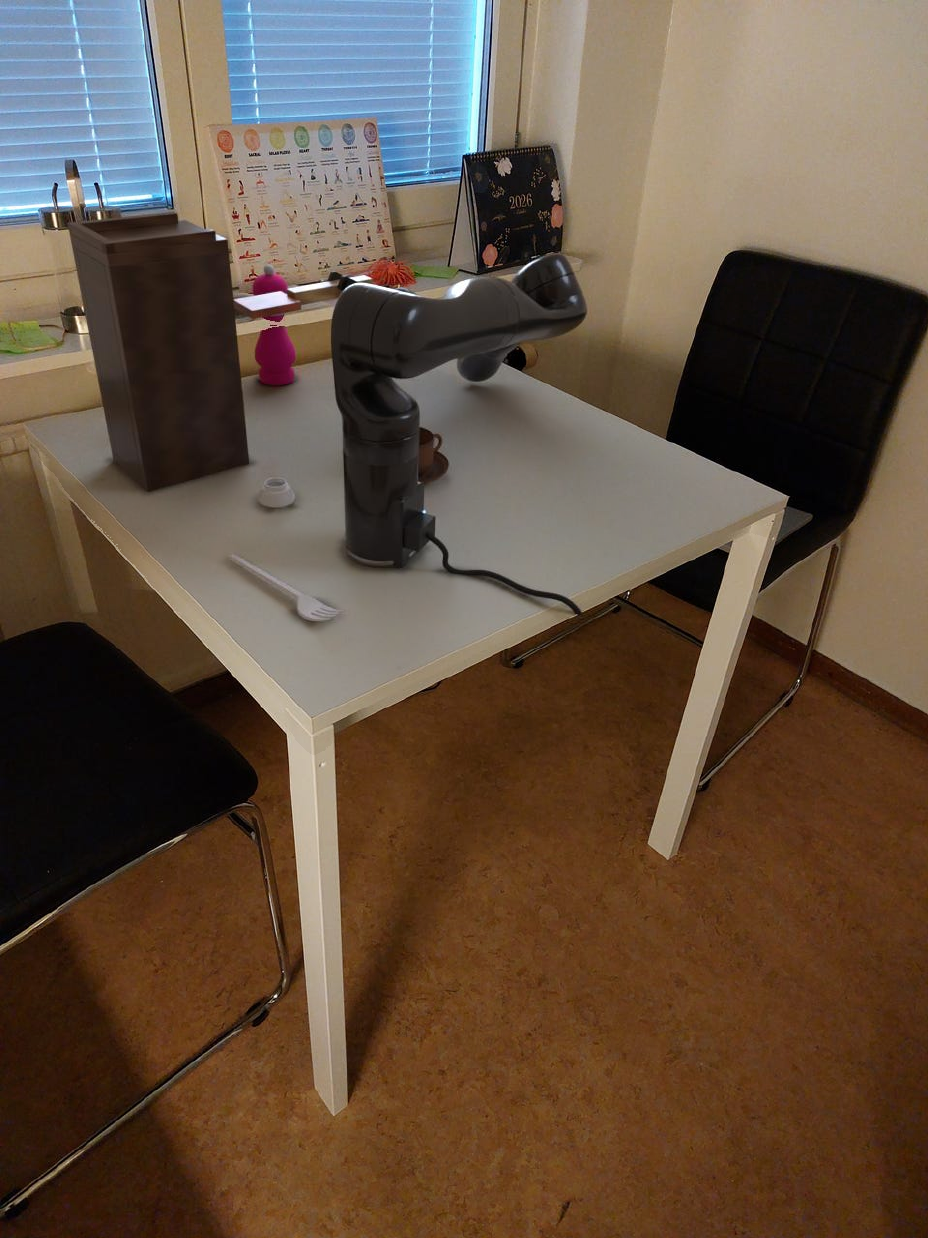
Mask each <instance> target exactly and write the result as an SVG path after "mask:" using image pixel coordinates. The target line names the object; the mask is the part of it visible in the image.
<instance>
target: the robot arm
mask: <svg viewBox="0 0 928 1238" xmlns="http://www.w3.org/2000/svg"><path fill="white" fill-rule="evenodd" d="M339 279H340V281H339V283H338V289H339V290H341V291H343V292H342V293H341V295H340V296H339V298H337V299H336V302H335V305H334V307H333V311H332V315H331V325H330V351H331V361H332V373H333V384H334V385H333V386H334V397H335V402H336V405H337V408H338V411H339V413H340V415H341V430H342V431H341V433H342V460H343V461H342V464H343V466H342V467H343V468H342V469H343V497H344V498H343V500H344V501H343V502H344V528H345V533H344V537H345V540H344V550H345V553H346V555H347V556H348V557H349V558H350V559H351V560H352V561H353V562H355V563H357V564H360V565H364V566H366V567H372V568H397V569H403V568H404V567H405V566H406V565H407V564H408V563H409V562H410V561H411V560H412V559H413V558H414V557H415V556H416V555H417V554H418V553H419V552H421V551H422V549H424V548H425V546H426V545H428V543H429V542H431V543H433V544H434V545H435V546H436V547H437V548H438V549H439V550H440V552H441V553H442V560H441V564H442V567H443V568H444V569H445V570H446V572H448V573H451V574H453V575H461V576H471V577H472V576H473V577H477V576H479V577H488V578H490V579H494V580H495V581H499V582H501V583H503V584H505V585H506V586H508V587H510V588H513V589H514V590H516V591H519V592H521V593H523V594H526V595H528V596H533V597H537V598H543V599H550V600H554V601H558V602H560V603H563V604H564V605H565V606H568V607H569V609H571V610H572V611H573V612H574V614H575V615H576V616H583V614H584V613H583V612H582V610H581V608H580V607H579V606H578V605H577V604H576V603H575V602H574V601H572V599H569V598H568V597H567V596H565V595H562V594H558V593H554V592H551V591H550V592H549V591H544V590H542V591H541V590H537V589H533V588H529V587H526V586H524V585H522V584H520V583H517V582H516V581H515V580H512V579H510V578H508V577H506V576H504V575H503V574H502V575H501V574H499V573H496V572H494V571H490V570H487V569H458V568H455V567H453V566H452V565H450V563H449V555H450V554H449V551H448V549H447V546H446V545H445V544H444V543H443V542H442V541H441V540H440V539H439V538H437V537H436V522H437V521H436V518H437V516H436V515H433V514H430V513H426V510H425V484H424V483H422V482H418V465H419V428H420V427H421V425H420V424H421V411H420V406H419V404H418V402H417V401H416V400H415V398H413V396H411V395H410V394H409V393H408V392H406V390H404V389H403V388H402V387H401V386H399V384H398V383H397V382H396V381H395V379H397V380H409V379H413V378H416V377H420V376H421V375H425V374H426V373H428V372H430V371H432V370H434V369H436V368H438V367H440V366H442V365H444V364H446V363H448V362H449V363H450V362H451V361H453V360H456V369H457V371H458V374H459V376H461V377H462V378H463V379H464V380H466V381H467V382H473V383H480V382H481V383H482V382H484V381H488V380H489V379H491V378H492V377H494V376H495V374H496V373H497V372H498V370H499V369H500V367H501V366H502V364H503V362H504V360H505V358H506V356H507V355H508V354H510V353H511V352H513V351H514V350H515V349H516V348H518V347H519V345H521V344H522V342H530V341H531V342H532V341H533V342H534V341H542V340H543V341H544V340H549V339H553V338H557V337H560V336H563V335H565V334H568V333H569V332H572V331H573V330H575V329H576V328H577V327H579V326H580V325H581V324H582V323H583V322H584V320H585V319H586V317H587V314H588V306H587V305H588V304H587V301H586V297H585V295H584V293H583V290H582V288H581V285H580V283H579V280H578V278H577V275H576V273H575V271H574V268H573V265H572V264H571V262H570V261H569V259H568V258H567V256H566V255H564V253H559V252H553V253H549V254H546V255H543V256H540V257H538V258H536V259H534V260H532V261H530V262H528V263H527V264H526V265H524V266H523V267H521V268H520V269H519V270H518V271H517V272H516V273H515V275H514V276H513V277H512V278H511V280H510V281H509V280H507V279H505V278H501V277H498V276H481V277H473V278H468V279H464V280H460V281H458V282H455V284H452V285H451V286H450V287H449V288H447V290H446V291H445V292H444V294H443V296H442V297H441V298H433V297H425V296H422V295H420V294H418V293H415V292H413V291H411V290H410V289H408V288H406V287H397V288H389V287H386V286H381V285H378V284H374V283H373V284H368V283H359V282H357V281H355V280H353V279H351V277H349V276H347V275H345V274H344V275H343V274H341V273H340V272H338V271H335V270H331V271H330V273H329V275H328V278H327V281H326V282H328V281H334V280H339Z"/></svg>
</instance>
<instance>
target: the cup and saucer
mask: <svg viewBox="0 0 928 1238" xmlns="http://www.w3.org/2000/svg"><path fill="white" fill-rule="evenodd" d="M435 439H437V441H438V442H437V445H436V446H435ZM442 445H443V437H442V435H440V433H437V432H436V433H433V432H432V431H431V430H429V428H428V429H427V428H426V427H422V426H420V428H419V465H418V482H422V483H424V485H426V484H430V483H433V482H435V481H437V480H439V479H440V478H442V477H443V476H444V475H445V474H446V473H447V472H448V470H449V467H450V462H449V460H448V458H447V457H446V456H445V455H444V454H443V453H442V452H441V451H439V450H440V449H441V448H442Z"/></svg>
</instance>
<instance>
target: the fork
mask: <svg viewBox="0 0 928 1238" xmlns="http://www.w3.org/2000/svg"><path fill="white" fill-rule="evenodd" d="M229 560H230V561H232V562H233V563H235V564H237V565H239V566H240V567H242V568H243V569H245V570H246V571H248V572H249V573H251V574H253V575H254V576H256V577H258V579H261V580H262V581H264V582H265V583H267V584H269V585H270V586H272V587H273V588H275V589H276V590H278V591H279V592H281V593H283V594H284V595H285V596H287V597H289V598H291V599H292V600H294V601H295V602H296V613H297V614H298V615H299V616H300V617H301V618H303V619H305V620H307V621H310V622H325V621H329V620H331V618H334V617H337V616H338V615H340V614H342V613H344V612H346V610H345V609H343V610H342V609H336V608H334V607H330V606H328V605H326V604H325V603H322V602H320V601H319V600H318V599H317V598H314V597H311V596H309V595H306V594H303V593H301V592H300V591H298V590H297V589H295V588H293V587H291V586H289V585H288V584H286V583H284V582H283V581H281V580H279V579H278V578H276V577H274V576H272V575H271V574H269V573H267V572H265V571H264V570H262V569H261V568H259V567H257V566H255V565H254V564H252V563H250V562H248V561H247V560H245V559H243V558H242V557H239V556H238V555H237V554H234V553H233V554H230V555H229Z"/></svg>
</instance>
